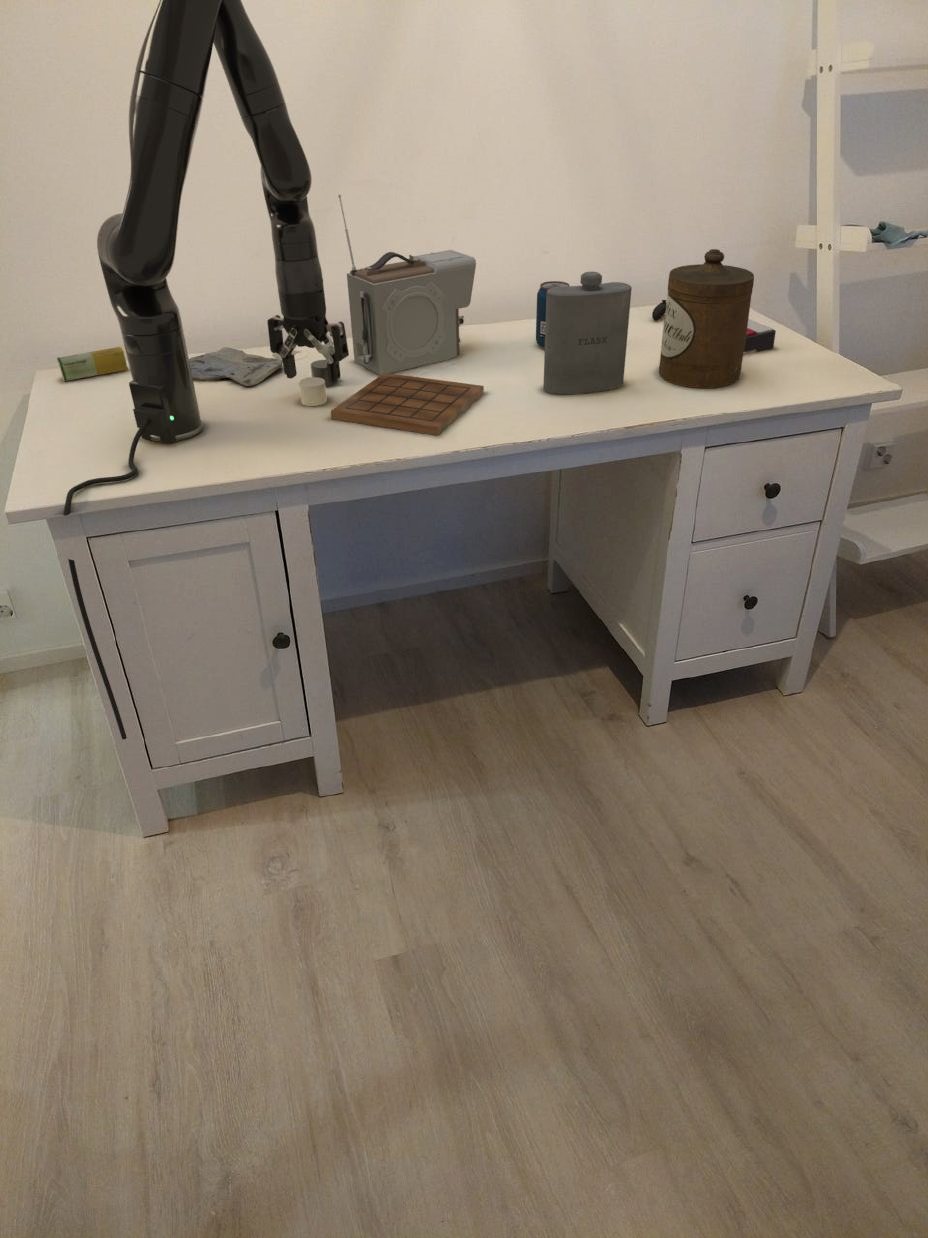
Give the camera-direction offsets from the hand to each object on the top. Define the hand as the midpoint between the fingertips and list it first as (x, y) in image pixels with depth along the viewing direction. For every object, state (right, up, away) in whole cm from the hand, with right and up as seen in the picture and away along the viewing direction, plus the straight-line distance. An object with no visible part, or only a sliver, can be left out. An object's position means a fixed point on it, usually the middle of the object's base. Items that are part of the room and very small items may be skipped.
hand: (313, 379), depth 156 cm
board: (+17, -5, -1) cm, 18 cm away
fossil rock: (-19, +5, +15) cm, 24 cm away
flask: (+48, 0, +5) cm, 49 cm away
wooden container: (+71, +3, +9) cm, 71 cm away
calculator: (+79, +12, +22) cm, 83 cm away
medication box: (-45, +5, +15) cm, 48 cm away
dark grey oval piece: (+73, +24, +39) cm, 86 cm away
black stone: (+1, +2, +10) cm, 10 cm away
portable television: (+16, +10, +21) cm, 28 cm away
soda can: (+45, +14, +25) cm, 53 cm away
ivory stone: (0, -3, +2) cm, 4 cm away
